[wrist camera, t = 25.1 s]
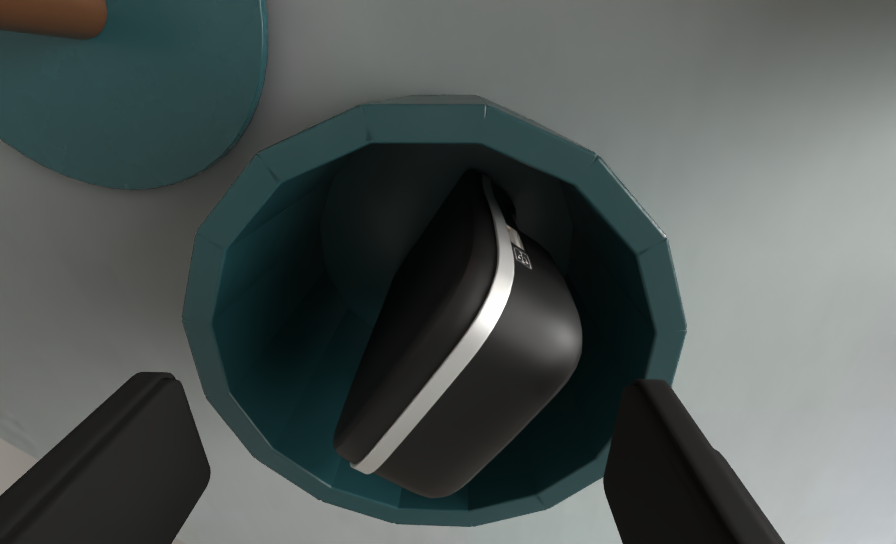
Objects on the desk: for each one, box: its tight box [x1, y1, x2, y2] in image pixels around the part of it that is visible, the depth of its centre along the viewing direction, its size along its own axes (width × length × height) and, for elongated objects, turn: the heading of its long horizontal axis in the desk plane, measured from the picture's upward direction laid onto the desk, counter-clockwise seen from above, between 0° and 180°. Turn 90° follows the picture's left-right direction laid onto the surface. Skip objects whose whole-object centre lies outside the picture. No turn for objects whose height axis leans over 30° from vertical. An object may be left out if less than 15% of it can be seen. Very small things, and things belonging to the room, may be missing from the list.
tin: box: [182, 95, 687, 527], centre depth 16 cm, size 13×13×10 cm
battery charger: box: [333, 170, 582, 498], centre depth 14 cm, size 7×4×11 cm, turn 146°
